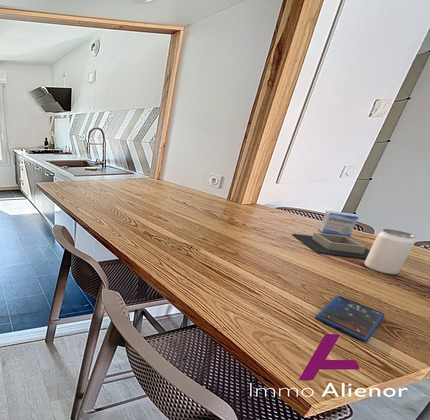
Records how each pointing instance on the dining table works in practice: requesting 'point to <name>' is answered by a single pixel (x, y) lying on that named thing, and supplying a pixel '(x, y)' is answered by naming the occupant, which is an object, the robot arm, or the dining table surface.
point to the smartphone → (351, 317)
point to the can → (389, 251)
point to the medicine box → (338, 223)
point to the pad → (334, 245)
